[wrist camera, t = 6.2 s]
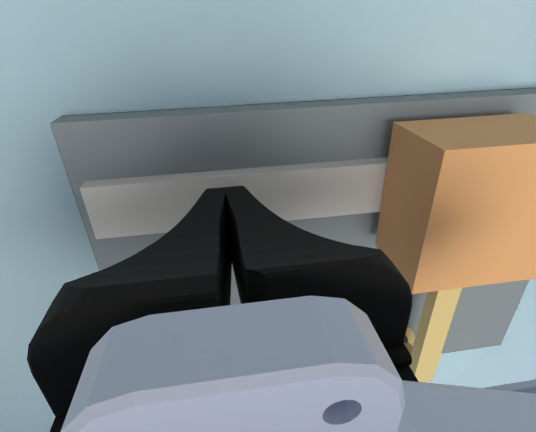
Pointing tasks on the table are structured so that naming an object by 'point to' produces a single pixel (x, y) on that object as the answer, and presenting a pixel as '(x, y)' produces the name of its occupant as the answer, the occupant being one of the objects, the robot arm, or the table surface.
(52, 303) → the robot arm
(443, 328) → the leg
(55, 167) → the table surface
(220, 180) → the plate
